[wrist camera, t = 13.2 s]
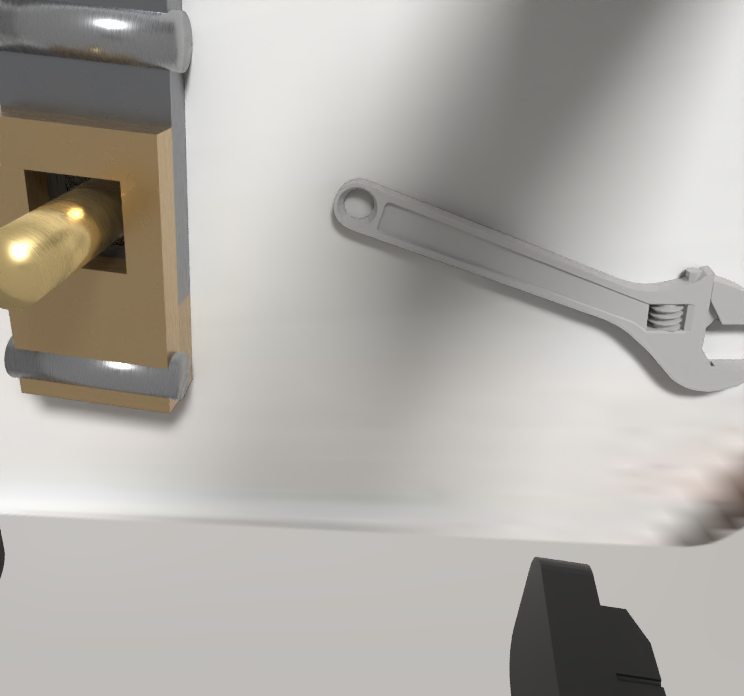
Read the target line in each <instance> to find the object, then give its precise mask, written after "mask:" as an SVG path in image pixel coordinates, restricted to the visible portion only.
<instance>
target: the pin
mask: <svg viewBox="0 0 744 696" xmlns="http://www.w3.org/2000/svg"><path fill="white" fill-rule="evenodd" d="M123 235H124V227H123V213H122V199H121V186H120V181H114V180H106V179H98V178H92V179H90V180H88V181H86V182H85V183H83V184H81V185H79V186H77V187H75V188H73V189H72V190H70V191H68V192H66V193H64V194H62V195H61V196H59V197H57V198H55V199H53V200H51V201H49V202H48V203H46V204H44V205H42V206H40V207H38V208H36V209H35V210H33V211H31V212H29V213H27V214H25V215H24V216H22V217H20V218H18V219H16V220H14V221H12V222H11V223H9V224H7V225H5V226H3V227H1V228H0V308H3V309H7V310H22V309H26V308H28V307H30V306H32V305H33V304H34V303H36V302H37V301H38V300H40V299H41V298H42V297H44V296H45V295H46V294H47V293H49V292H50V291H51V290H53V289H54V288H55V287H57V286H58V285H59V284H61V283H62V282H63V281H64V280H66V279H67V278H68V277H70V276H71V275H72V274H74V273H75V272H76V271H78V270H79V269H80V268H81V267H83V266H84V265H85V264H87V263H88V262H89V261H91V260H92V259H93V258H95V257H96V256H97V255H98V254H100V253H101V252H102V251H104V250H105V249H106V248H108V247H109V246H110V245H112V244H113V243H114V242H116V241H117V240H118V239H119V238H121V237H122V236H123Z"/></svg>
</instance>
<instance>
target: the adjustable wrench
mask: <svg viewBox="0 0 744 696" xmlns="http://www.w3.org/2000/svg"><path fill="white" fill-rule="evenodd" d="M354 189H362V190H365V191H367V192H368V193H369V194H370V195H371V196H372V198H373V201H374V208H373V211H372V212H371V214H370V215H369V216H367V217H365V218H361V219H357V218H354V217H352V216H350V215H349V214H348V213H347V212H346V210H345V208H344V199H345V197H346V195H347V194H348V193H349V192H350V191H352V190H354ZM333 209H334V214H335V216H336V218H337V220H338V221H339V222H340V223H341V224H342V225H343V226H344V227H346V228H348V229H350V230H353V231H356V232H358V233H361V234H364V235H367V236H370V237H372V238H375V239H378V240H381V241H384V242H387V243H389V244H392V245H395V246H398V247H401V248H403V249H406V250H409V251H412V252H415V253H418V254H420V255H423V256H426V257H429V258H432V259H435V260H437V261H440V262H443V263H446V264H449V265H451V266H454V267H457V268H460V269H463V270H466V271H468V272H471V273H474V274H477V275H480V276H483V277H485V278H488V279H491V280H494V281H497V282H499V283H502V284H505V285H508V286H511V287H514V288H516V289H519V290H522V291H525V292H528V293H530V294H533V295H536V296H539V297H542V298H545V299H547V300H550V301H553V302H556V303H559V304H562V305H564V306H567V307H570V308H573V309H576V310H578V311H581V312H584V313H587V314H590V315H593V316H595V317H598V318H601V319H604V320H606V321H608V322H611V323H613V324H615V325H617V326H619V327H620V328H621V329H623V330H624V331H626V332H627V333H628V334H630V335H631V336H632V337H633V338H634V339H635V340H636V341H637V342H638V343H640V344H641V345H642V346H643V347H644V348H645V349H646V350H647V351H648V352H649V353H650V354H651V355H652V356H653V358H654V359H655V360H656V361H657V362H658V364H659V365H660V366H661V367H662V368H663V370H664V371H665V372H666V373H667V374H668V376H669V377H670V378H671V379H672V380H674V381H675V382H676V383H678V384H680V385H681V386H684V387H686V388H688V389H691V390H695V391H706V392H712V391H721V390H725V389H729V388H732V387H736V386H738V385H740V384H742V383H744V359H712V360H708V359H707V357H706V356H705V354H704V352H703V350H702V346H703V341H704V336H705V330H706V328H707V327H708V326H709V325H710V324H711V323H712V322H713V321H714V320H715V319H718V320H719V321H720V322H721V324H722V325H727V324H744V288H743V287H741V286H740V285H738V284H736V283H735V282H732V281H730V280H727V279H725V278H722V277H719V276H715V273H714V272H713V271H712V270H711V269H710V267H709V266H703V267H700V268H687V270H686V276H685V277H682V278H679V279H674V280H669V281H664V282H660V283H651V284H642V283H634V282H629V281H625V280H622V279H618V278H616V277H613V276H611V275H608V274H606V273H603V272H601V271H598V270H595V269H593V268H590V267H588V266H585V265H583V264H580V263H578V262H575V261H572V260H570V259H567V258H565V257H562V256H560V255H557V254H555V253H552V252H549V251H547V250H544V249H542V248H539V247H537V246H534V245H532V244H529V243H526V242H524V241H521V240H519V239H516V238H514V237H511V236H509V235H506V234H503V233H501V232H498V231H496V230H493V229H491V228H488V227H485V226H483V225H480V224H478V223H475V222H473V221H470V220H468V219H465V218H462V217H460V216H457V215H455V214H452V213H450V212H447V211H445V210H442V209H439V208H437V207H434V206H432V205H429V204H427V203H424V202H422V201H419V200H416V199H414V198H411V197H409V196H406V195H404V194H401V193H399V192H396V191H393V190H391V189H388V188H386V187H383V186H381V185H378V184H376V183H373V182H370V181H368V180H364V179H353V180H350V181H348V182H346V183H345V184H344V185H343V186H342V187H341V188H340V189H339V191H338V193H337V195H336V196H335V198H334V204H333ZM649 305H650V308H651V309H652V310H649ZM648 311H649V314H650V315H651V316H649V317H648ZM647 319H648V320H649V321H650V323H647Z"/></svg>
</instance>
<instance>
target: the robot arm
mask: <svg viewBox="0 0 744 696" xmlns="http://www.w3.org/2000/svg"><path fill="white" fill-rule="evenodd" d="M4 556H5V552H4V546H3V541H2V536H1V531H0V577H1V574H2V571H3V566H4V559H5V558H4ZM510 687H511V696H666V694H665V691H664V688H663V687H661V677H660V674H659V671H658V667H657V664H656V660H655V657H654V654H653V650H652V647H651V643H650V642H649V640H648V639H647V638H646V636H645V635H644V634H643V632H642V631H641V629H640V628H639V627H638V625H637V624H636V623H635V621H634V620H633V619H632V617H631V616H630V615H629V613H628V612H627V610H626V609H621V608H614V607H607V606H601V605H600V602H599V598H598V594H597V589H596V585H595V581H594V576H593V573H592V570H591V568H590V566H589V565H587V564H581V563H575V562H567V561H561V560H554V559H547V558H540V557H535V558H534V559H533V561H532V563H531V566H530V570H529V573H528V577H527V581H526V585H525V588H524V592H523V596H522V600H521V604H520V607H519V611H518V615H517V618H516V622H515V626H514V630H513V635H512V642H511V649H510Z"/></svg>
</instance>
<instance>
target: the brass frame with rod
mask: <svg viewBox="0 0 744 696" xmlns="http://www.w3.org/2000/svg"><path fill="white" fill-rule="evenodd" d="M191 55H192V30H191V24H190V20H189V18H188V15H187V14H186V12H185V11H182V0H0V106H1V107H0V228H1V227H3V226H5V225H7V224H9V223H11V222H12V221H14V220H16V219H18V218H20V217H22V216H24V215H25V214H27V213H29V212H31V211H33V210H35V209H36V208H38V207H40V206H42V205H44V204H46V203H48V202H49V201H51V200H53V199H55V198H57V197H59V196H61V195H62V194H64V193H66V192H67V187H66V178H65V175H73V176H82V177H90V178H98V179H106V180H114V181H120V186H121V199H122V213H123V227H124V241H125V246H124V245H117V244H112V245H110V246H109V247H108V248H106V249H105V250H104V251H102V252H101V253H100V254H98V255H97V256H96V257H95V258H93V259H92V260H91V261H89V262H88V263H87V264H85V265H84V266H83V267H81V268H80V269H79V270H78V271H76V272H75V273H74V274H72V275H71V276H70V277H68V278H67V279H66V280H64V281H63V282H62V283H61V284H59V285H58V286H57V287H55V288H54V289H53V290H51V291H50V292H49V293H47V294H46V295H45V296H44V297H42V298H41V299H40V300H38V301H37V302H36V303H34V304H33V305H32V306H30V307H28V308H26V309H22V310H9V316H10V322H11V328H12V334H13V335H12V337H11V338H10V340H9V342H8V344H7V347H6V350H5V358H4V361H5V368H6V371H7V373H8V374H9V375H10V376H11V377H14V378H20V384H21V391H22V393H28V394H35V395H43V396H50V397H57V398H64V399H71V400H78V401H86V402H93V403H100V404H107V405H114V406H121V407H128V408H136V409H143V410H150V411H157V412H164V413H170V412H171V411H172V409H173V408H174V406H175V405H176V403H177V402H178V400H181V399H182V398H183V397H184V396H185V394H186V391H187V388H188V385H189V384H190V382H191V381H192V349H191V314H190V279H189V243H188V208H187V173H186V138H185V102H184V72H186V71H187V69H188V67H189V64H190V61H191Z"/></svg>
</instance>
